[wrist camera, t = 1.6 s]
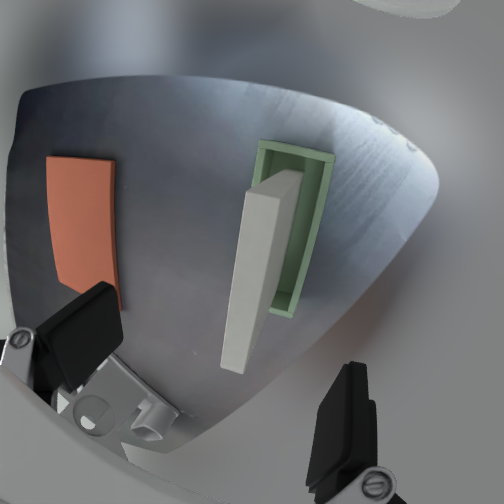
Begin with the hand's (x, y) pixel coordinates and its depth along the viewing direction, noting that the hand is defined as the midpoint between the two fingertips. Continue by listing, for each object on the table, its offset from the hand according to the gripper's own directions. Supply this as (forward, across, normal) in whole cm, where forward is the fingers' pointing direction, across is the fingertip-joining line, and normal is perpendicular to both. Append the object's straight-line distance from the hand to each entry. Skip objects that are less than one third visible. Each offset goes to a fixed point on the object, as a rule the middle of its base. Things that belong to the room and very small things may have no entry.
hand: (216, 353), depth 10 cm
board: (+15, 0, -1) cm, 15 cm away
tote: (+16, 0, -1) cm, 16 cm away
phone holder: (+16, +19, +36) cm, 44 cm away
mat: (+16, +26, +6) cm, 31 cm away
